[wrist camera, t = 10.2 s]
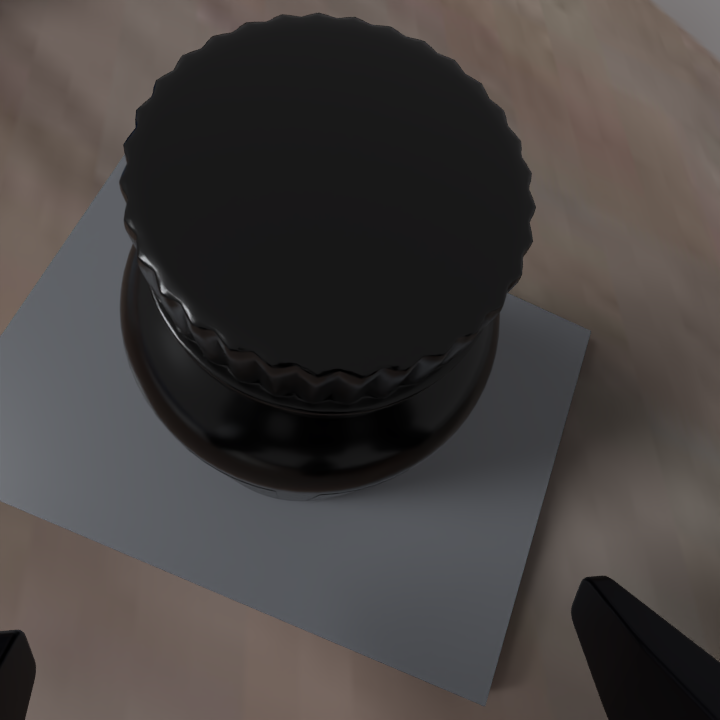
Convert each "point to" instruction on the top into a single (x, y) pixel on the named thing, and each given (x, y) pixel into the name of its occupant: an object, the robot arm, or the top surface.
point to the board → (281, 517)
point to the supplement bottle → (318, 251)
